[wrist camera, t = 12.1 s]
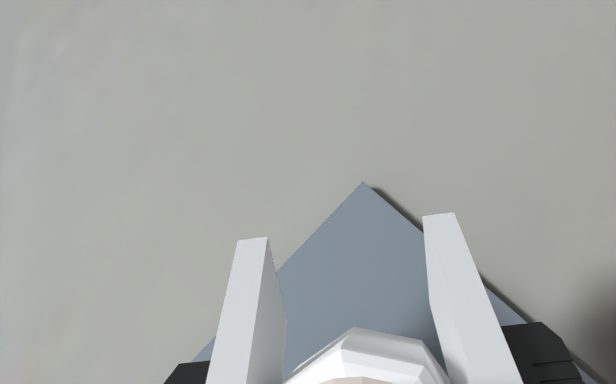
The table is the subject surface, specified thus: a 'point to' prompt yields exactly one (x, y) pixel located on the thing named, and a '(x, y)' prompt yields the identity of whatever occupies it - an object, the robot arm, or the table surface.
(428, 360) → the pepper shaker
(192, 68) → the table surface
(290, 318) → the grey mat
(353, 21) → the table surface
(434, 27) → the table surface
